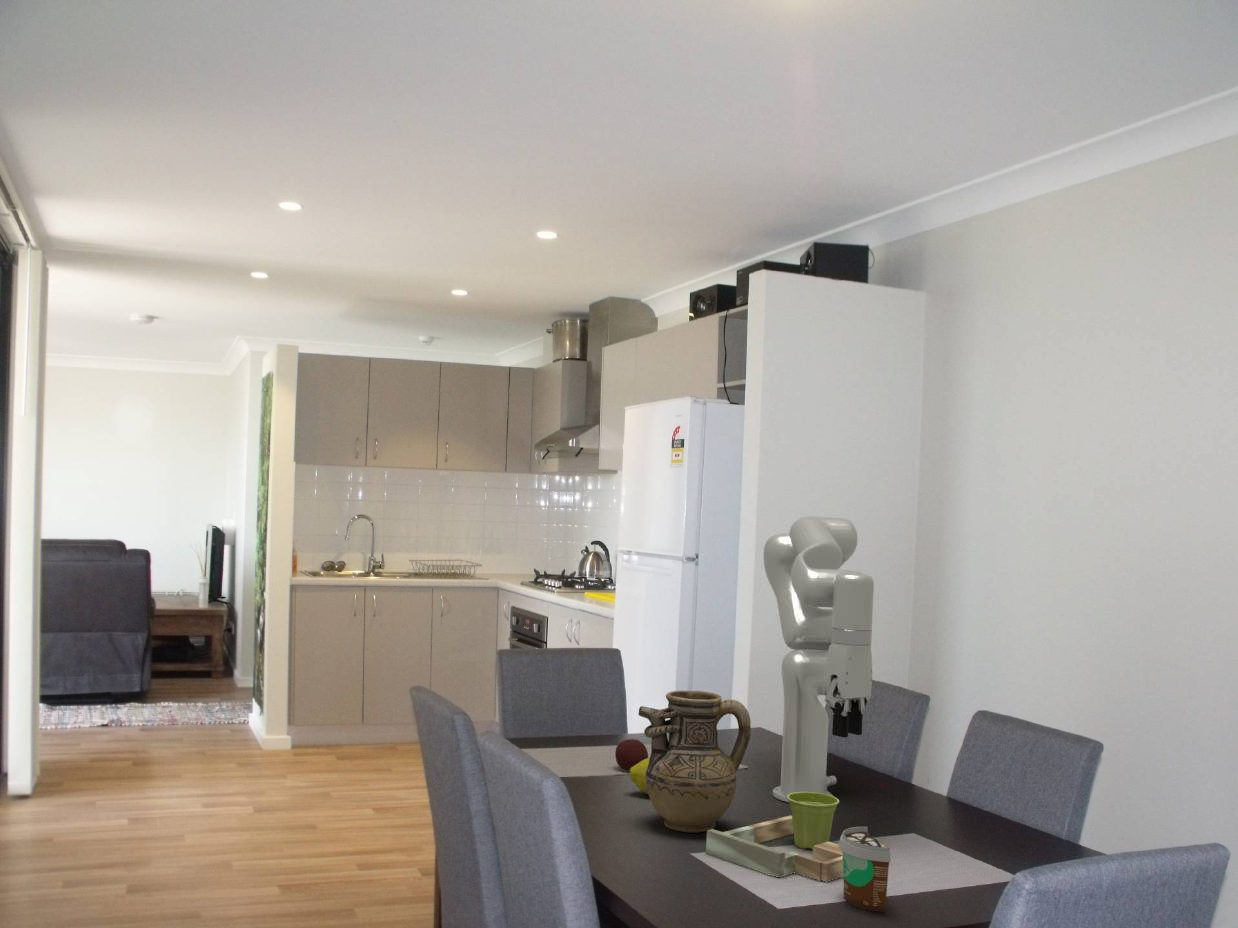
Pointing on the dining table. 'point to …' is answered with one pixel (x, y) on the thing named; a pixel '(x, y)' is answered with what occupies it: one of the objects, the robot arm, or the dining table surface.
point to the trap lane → (774, 851)
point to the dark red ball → (630, 753)
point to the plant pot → (812, 817)
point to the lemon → (640, 774)
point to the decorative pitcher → (693, 759)
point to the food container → (864, 869)
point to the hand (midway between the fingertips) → (847, 733)
